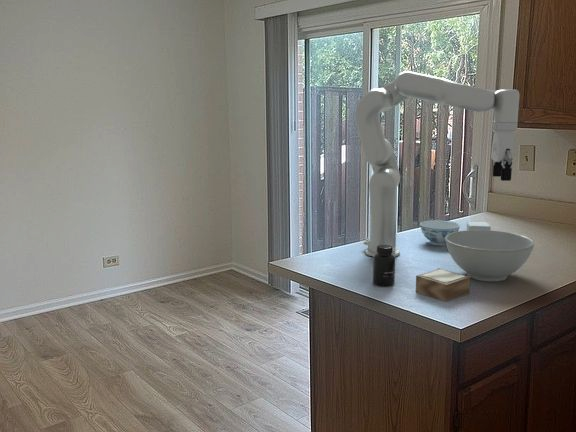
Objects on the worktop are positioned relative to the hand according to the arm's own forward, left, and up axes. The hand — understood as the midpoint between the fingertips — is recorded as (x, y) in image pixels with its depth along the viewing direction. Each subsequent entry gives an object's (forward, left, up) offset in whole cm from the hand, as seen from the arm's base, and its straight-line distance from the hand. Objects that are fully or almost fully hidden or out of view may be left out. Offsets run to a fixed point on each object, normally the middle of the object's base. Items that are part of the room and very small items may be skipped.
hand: (501, 178), depth 194 cm
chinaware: (-29, +6, -30) cm, 42 cm away
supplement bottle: (-9, -47, -30) cm, 56 cm away
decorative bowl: (+7, -16, -30) cm, 34 cm away
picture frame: (+8, -40, -29) cm, 50 cm away
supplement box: (-7, -1, -30) cm, 31 cm away
